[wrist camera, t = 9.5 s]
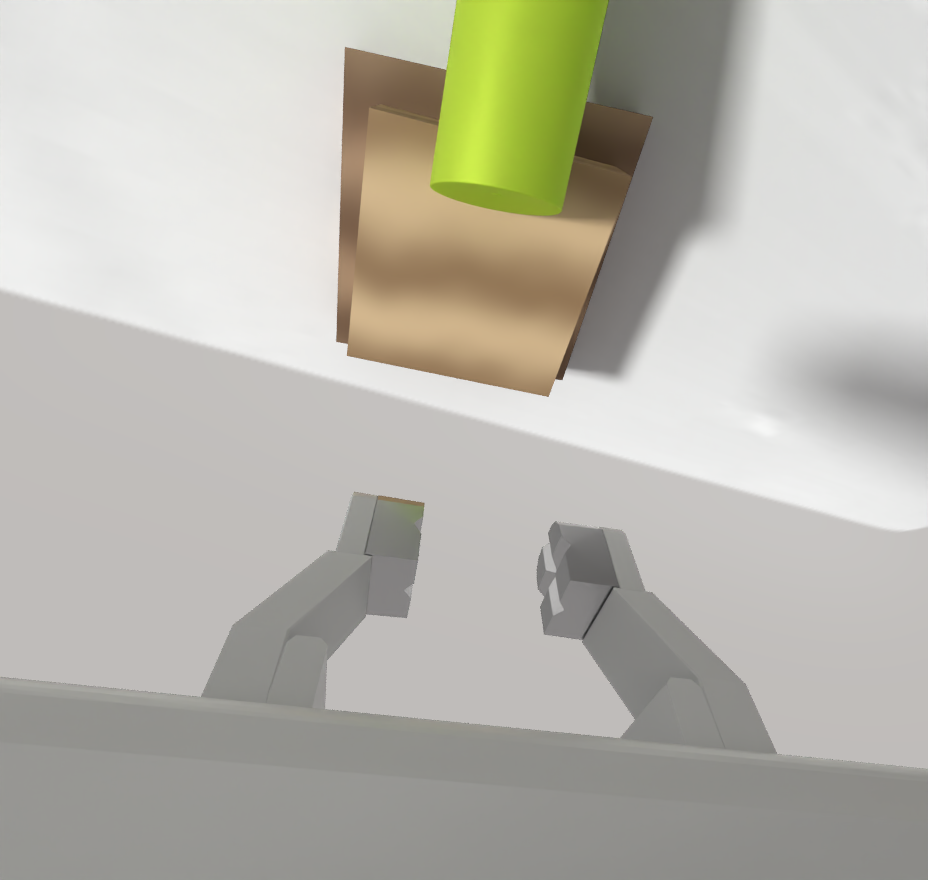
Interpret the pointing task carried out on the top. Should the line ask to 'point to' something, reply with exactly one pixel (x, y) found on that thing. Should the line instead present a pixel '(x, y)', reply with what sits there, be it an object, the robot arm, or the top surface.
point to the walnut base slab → (421, 92)
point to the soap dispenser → (515, 101)
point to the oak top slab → (470, 266)
